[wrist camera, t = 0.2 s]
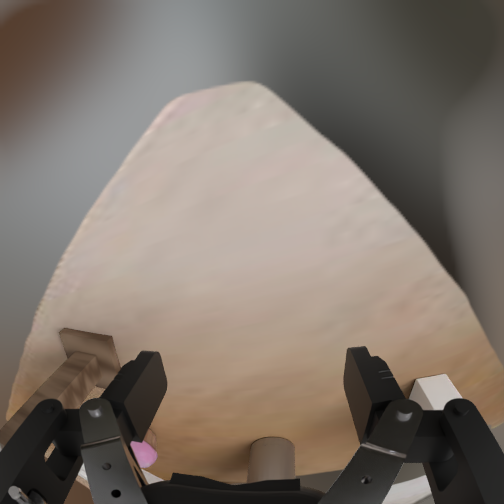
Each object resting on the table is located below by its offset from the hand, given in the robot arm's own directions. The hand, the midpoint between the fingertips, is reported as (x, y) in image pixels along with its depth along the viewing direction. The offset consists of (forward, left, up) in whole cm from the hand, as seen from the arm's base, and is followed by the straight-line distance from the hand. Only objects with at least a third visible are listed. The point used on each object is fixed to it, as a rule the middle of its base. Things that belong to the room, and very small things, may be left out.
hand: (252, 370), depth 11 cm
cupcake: (-44, +27, -29) cm, 59 cm away
